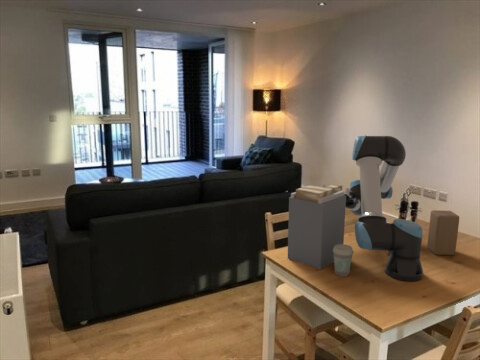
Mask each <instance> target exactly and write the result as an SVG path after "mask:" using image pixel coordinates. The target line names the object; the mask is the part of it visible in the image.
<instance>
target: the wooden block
mask: <svg viewBox="0 0 480 360" xmlns="http://www.w3.org/2000/svg"><path fill="white" fill-rule="evenodd" d="M459 224H460V216H459V215H458V214H456V213H455V212H453V211H451V210H437V209H436V210H431V211H430V217H429V228H428V236H427V246H426V247H427V249H428V250H429V251H430V252H431V253H432V254H433V255H435V256H436V255H437V256H455V255H456V250H457V242H458V241H457V240H458V233H459V227H460V226H459Z"/></svg>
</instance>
